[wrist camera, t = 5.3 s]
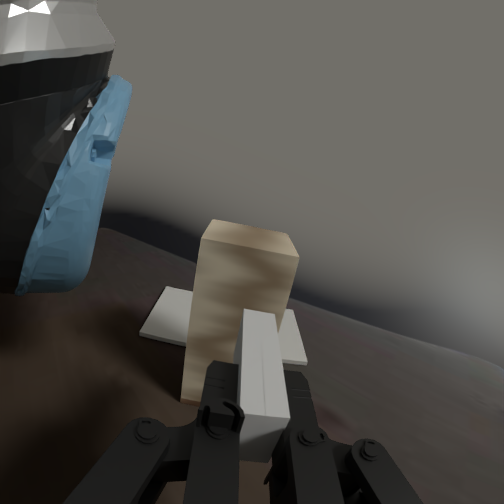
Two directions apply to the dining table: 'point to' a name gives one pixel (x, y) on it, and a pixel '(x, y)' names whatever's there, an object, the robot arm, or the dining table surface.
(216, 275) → the beech block
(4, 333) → the dining table surface
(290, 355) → the mat
